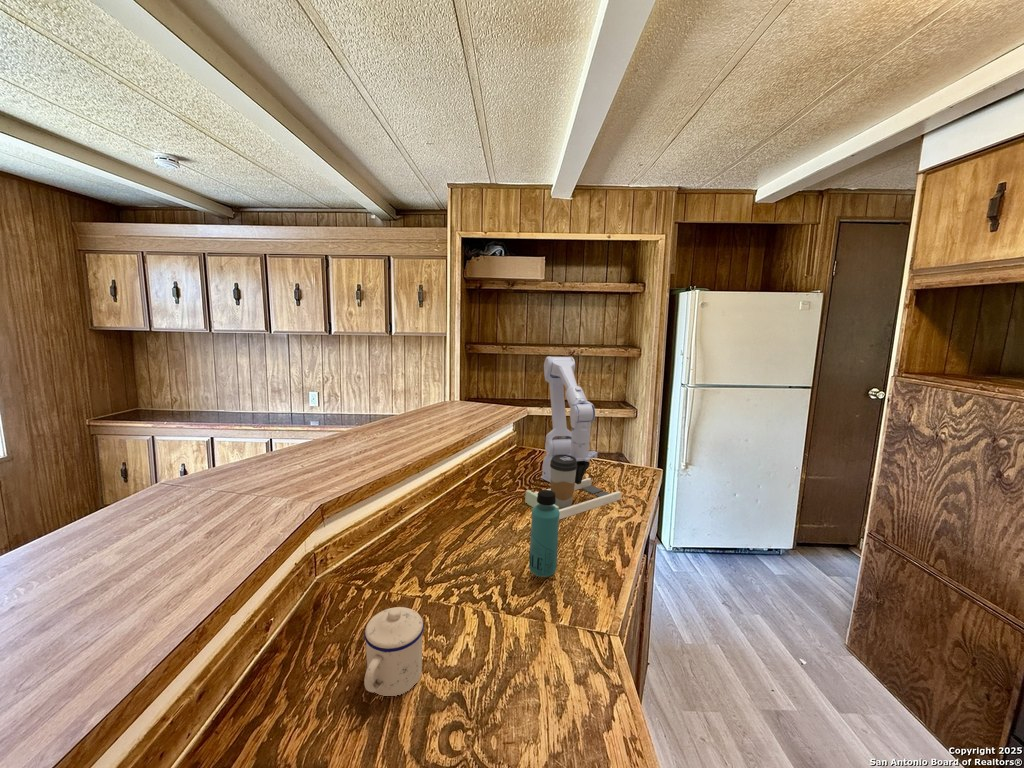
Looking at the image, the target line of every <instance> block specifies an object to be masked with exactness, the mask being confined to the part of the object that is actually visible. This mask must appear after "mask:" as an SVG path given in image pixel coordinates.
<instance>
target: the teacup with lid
mask: <svg viewBox="0 0 1024 768" xmlns="http://www.w3.org/2000/svg"><path fill="white" fill-rule="evenodd" d="M424 624H425V623H424V620H423V619H422V616H421V615H420V614H419V613H418V612H417V611H416V610H414V609H411V608H410V607H403V606H399V607H398V606H397V607H395V606H394V607H391V608H386V609H384V610H382V611H380V612H378V613H376V614H375V615H374V616H372V618H371V619H370V620H368V623H367V624H366V627H365V629H364V640H365V646H366V647H365V648H366V649H365V650H366V651H365V652H366V653H365V656H366V658H365V660H366V661H365V662H366V664H365V665H366V671H365V675H364V679H363V680H364V681H363V682H364V684H363V685H364V688H365V689H366V691H368V692H369V693H374V692H375V693H377V694H379V695H383V696H395V697H398V696H397V695H399V696H402V695H404V694H406V693H407V691H408V692H409V691H411V690H412V689H413V688H414V687H415V686H416V685H417V684H418V682H419V681H420V679H421V677H422V674H423V632H424V630H425V629H424V627H425V625H424ZM416 683H417V684H416ZM415 684H416V685H415ZM414 685H415V686H414ZM413 686H414V687H413ZM412 687H413V688H412ZM411 688H412V689H411ZM410 689H411V690H410ZM405 692H406V693H405ZM375 693H374V694H375ZM403 693H404V694H403ZM377 694H376V695H377ZM401 694H402V695H401ZM379 695H378V696H379ZM383 696H382V697H383Z"/></svg>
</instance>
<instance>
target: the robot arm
mask: <svg viewBox="0 0 1024 768" xmlns="http://www.w3.org/2000/svg"><path fill="white" fill-rule="evenodd" d="M575 361H576V360H575V359H574V357H573V356H550V355H548V356H546V357H545V359H544V362H543V374H544V381H545V382H547V383H548V384H549V385H548V386H549V395H550V407H551V408H550V409H551V422H552V429H551V430H550V431H549V432H548V433H547V434H546V436H545V444H544V449H545V453H546V454H545V456H544V457H543V460H542V461H543V462H542V475H541V476H540V478H541V479H543V480H544V481H547V482H548V483H550V484H551V467H550V462H551V460H552V457H553V456H555V455H570V456H573V457H574V458H576V462H577V469H576V477H575V483H576V484H581V481H582V480H583V478H584V475H585V473H586V472H587V470H588V468H589V467H590V466H591V465H590V464H591V462H590V461H591V459H598V452H597V451H595V450H590V440H591V429H592V428H591V427H592V423H593V422H594V421H595V418H596V409H595V405H594V404H593V403H592V402H590V401H588V399H587V397H586V394H585V392H584V390H583V388H582V387H581V386H578V383H577V379H576V376H575V371H576V362H575ZM564 387H565V389H566V390H565V389H564ZM565 397H566V400H567V403H568V405H569V409H570V410H569V417H570V427H571V430H569V429H568V427H567V426H568V425H567V417H566V416H567V415H566V402H565ZM564 457H566V456H564ZM562 458H563V457H562ZM560 459H561V458H560ZM564 459H566V460H564ZM564 459H562V460H564V461H573V459H571V458H570V457H566V458H564Z"/></svg>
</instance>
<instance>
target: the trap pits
mask: <svg viewBox="0 0 1024 768" xmlns="http://www.w3.org/2000/svg"><path fill="white" fill-rule="evenodd" d="M581 490H583V491H584V492H587V493H588V494H591V495H594V496H595V497H596V498H598V497H601V496H605V495H608V494H611V493H610V492H608V491H604V490H603V489H602V488H599V487H597V486H595V485H593V484H591V486H587V487H584V488H581ZM601 491H602V492H601Z"/></svg>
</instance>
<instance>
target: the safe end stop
mask: <svg viewBox="0 0 1024 768" xmlns="http://www.w3.org/2000/svg"><path fill="white" fill-rule="evenodd" d="M524 496H525V497H524V498H525V500H524V503H525V504H526V503H527V504H526V505H528V506H530V507H531V508H532V509H533V508H534V507H535V506H536V505H538V504H539V503H538V502H537V496H538V495H537V494H535V492H533V491H531V490H530V489H527V490H525V495H524ZM553 505H554V506H555V507H556V508H557V509H558V510H560V509H559V507H558V506H556V505H555V504H553Z"/></svg>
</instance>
